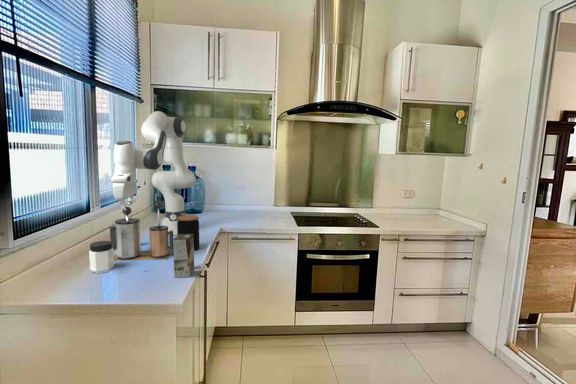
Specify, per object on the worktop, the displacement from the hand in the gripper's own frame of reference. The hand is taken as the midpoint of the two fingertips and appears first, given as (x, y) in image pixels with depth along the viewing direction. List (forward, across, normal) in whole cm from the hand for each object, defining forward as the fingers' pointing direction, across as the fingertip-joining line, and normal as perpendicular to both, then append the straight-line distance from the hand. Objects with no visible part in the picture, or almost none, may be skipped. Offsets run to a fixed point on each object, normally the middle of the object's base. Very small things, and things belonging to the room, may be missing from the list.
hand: (126, 206), depth 152 cm
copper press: (+24, 0, +15) cm, 28 cm away
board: (+25, -1, +6) cm, 26 cm away
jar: (+25, +15, -6) cm, 30 cm away
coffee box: (+25, +22, +29) cm, 44 cm away
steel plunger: (+22, 0, 0) cm, 22 cm away
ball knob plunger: (+15, 0, +14) cm, 21 cm away
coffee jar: (+26, -10, +26) cm, 38 cm away
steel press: (+24, 0, -1) cm, 24 cm away
